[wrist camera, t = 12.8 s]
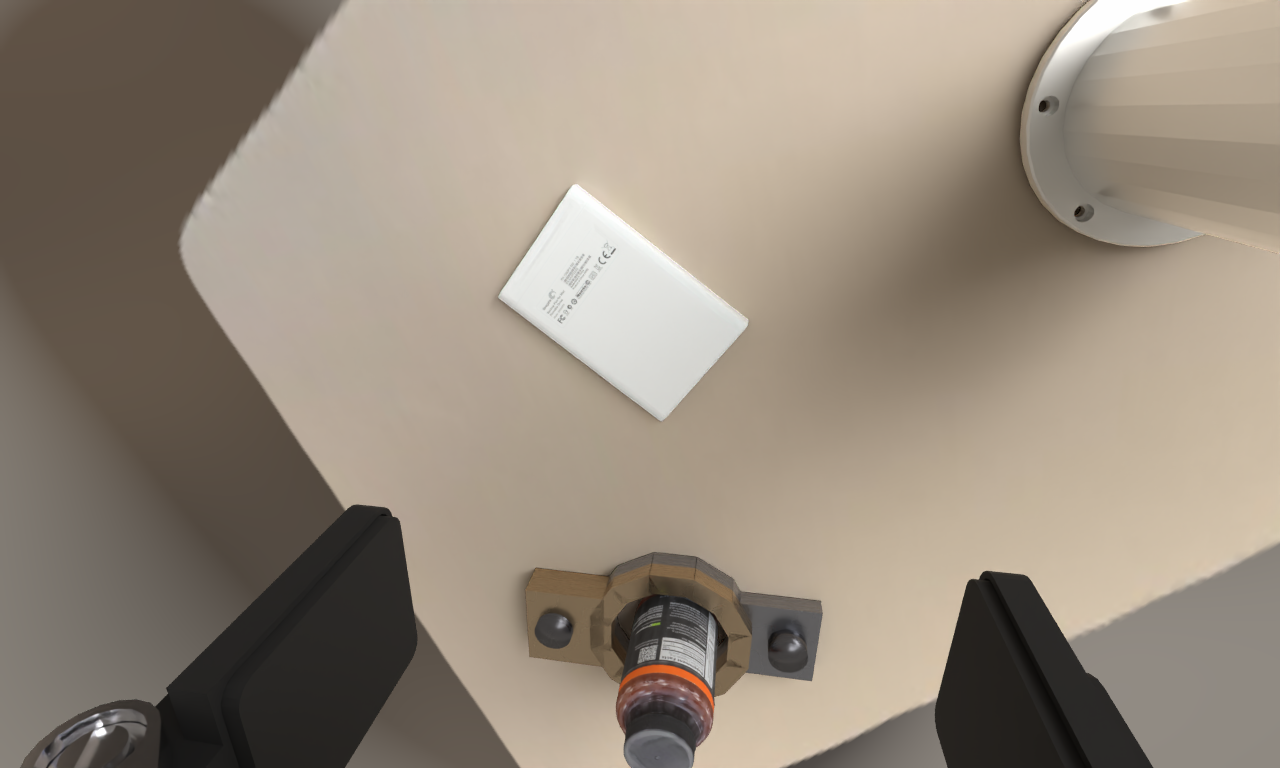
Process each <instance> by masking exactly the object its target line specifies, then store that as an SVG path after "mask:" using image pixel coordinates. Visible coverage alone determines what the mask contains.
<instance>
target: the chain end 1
mask: <svg viewBox="0 0 1280 768" xmlns="http://www.w3.org/2000/svg"><path fill="white" fill-rule="evenodd" d="M608 579H609V576H600V575H592V574H583V573H574V572H566V571H557V570H549V569H540V568H535V571H534V573H533V575H532V577H531V579H530V581H529V583H528V586H527V588H526V590H525V594H526V609H527V625H528V640H529V656H530V657H534V658H542V659H549V660H557V661H564V662H571V663H579V664H586V665H594V666H601V667H603V668H604V669H605V671H606V672H607V674H608V675H609V677H610V678H611V679H612V680H614V681H616V682H618V683H619V684H620V683H621V678H622V673H623V669H624V664H625V659H626V655H627V652H626V651H625V649H624V648H623V646H622V645H621V643H620V642H619V641H618V639H617V638H616V636H615V635H614V622H615V618H616V616H617V615H618V614H619V613H620V611H621V610H622V609H623V608H624V606H625V605H626V604H627V603H630V602H632V601H635V600H638V599H641V598H644V597H647V596H650V595H653V594H660V595H668V596H676V597H685V598H688V599H690V600H692V601H693V602H695V603H697V604H698V605H700V606H702V607H703V608H705V609H707V610H708V611H710V612H712V613H713V614H715V616H716V618H717V619H718V621H719V622H720V624H721V626H722V627H723V629H724V631H725V632H726V634H727V636H728V645H727V650H726V651H725V652H724V653H723V654H722V655H721V656H720V657H719V658H718V659H717V660H716V678H715V696H714V697H716V696H719V695H723V694H725V693H726V692H727V691H728V690H729V689H730V688H731V687H732V686H733V685H734V684H735V683H736V682H737V681H738V680H739V679H740V678H741V676H742V675H743V674H744V673H745V672H746V671H747V670H748V668H749V659H750V650H751V640H752V622H751V621H750V619H749V617H748V616H747V614H746V612H745V610H744V609H743V607H742V605H741V604H740V602H739V600H738V599H737V597H736V595H735V593H734V592H733V591H732V590H731V589H729V588H728V587H726V586H724V585H723V584H721V583H719V582H718V581H716V580H714V579H713V578H711V577H709V576H708V575H706V574H704V573H703V572H701V571H699V570H698V569H695V568H689V567H680V566H671V565H662V564H653V563H652V564H648V565H646V566H643V567H640V568H637V569H634V570H632V571H629V572H626V573H623V574H620V575H618V576H615V577H614V578H613V579H612V580H611V582H610V583H609V584H608V585H607V582H608ZM606 585H607V587H606Z"/></svg>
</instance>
